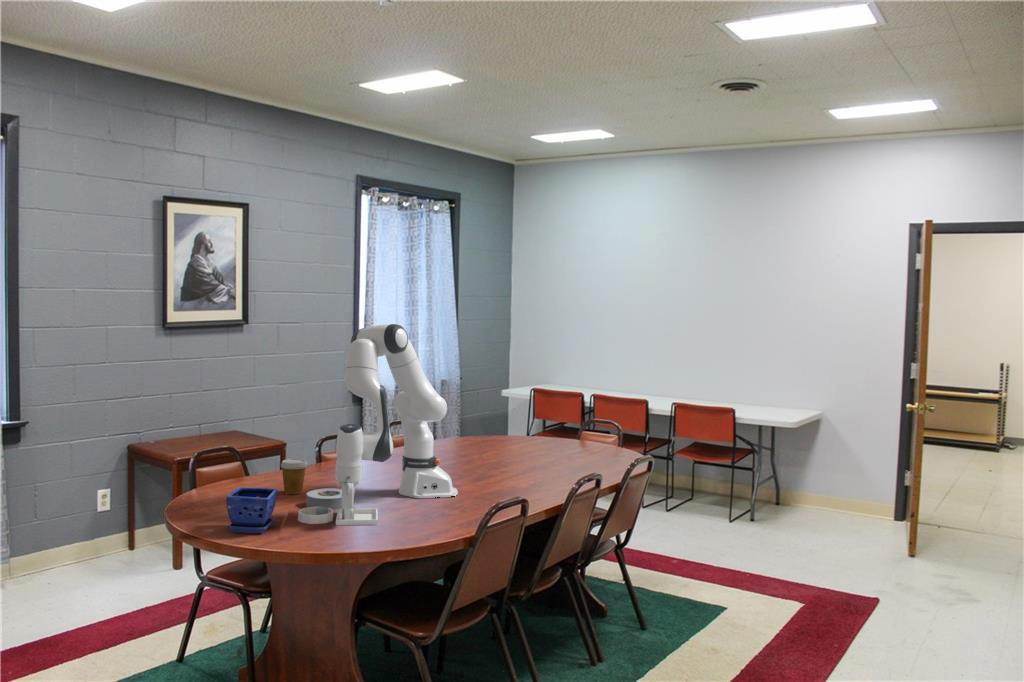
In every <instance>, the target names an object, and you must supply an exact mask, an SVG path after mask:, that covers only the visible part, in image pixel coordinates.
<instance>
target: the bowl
mask: <svg viewBox="0 0 1024 682" xmlns="http://www.w3.org/2000/svg"><path fill="white" fill-rule="evenodd" d="M316 508H318V507H307V506H306V507H303V508H300V509H299V510H298V513H297V521H298V522H300V523H302V524H308V525H320V524H327V523H330V522H333V520H334V510H333V509H331V508H328V513H327V514H322V515H316Z"/></svg>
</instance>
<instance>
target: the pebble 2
mask: <svg viewBox="0 0 1024 682" xmlns="http://www.w3.org/2000/svg"><path fill="white" fill-rule="evenodd" d="M354 509H356V508H355V507H353V508H352V509H351V511H350V519H349V520H354ZM342 520H345V519H344V509H342Z"/></svg>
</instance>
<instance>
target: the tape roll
mask: <svg viewBox="0 0 1024 682" xmlns="http://www.w3.org/2000/svg"><path fill="white" fill-rule="evenodd" d="M341 500H342V488H338V487H337V488H336V487H327V488H319V489H318V488H317V489H313V490H310V491H307V492H306V496H305V503H306V504H305V506H306V508H307V507H327V508H331V509H333V511H334V510H335V511H336V510H338V509H342V507H341Z"/></svg>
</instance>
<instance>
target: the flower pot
mask: <svg viewBox="0 0 1024 682" xmlns="http://www.w3.org/2000/svg"><path fill="white" fill-rule="evenodd" d="M277 496H278V489H277V488H271V487H247V486H246V487H244V486H239V487H237V488H235V489H234V490H232V491H231V492H229V494H228V495H226V498H225V499H226V510H227V516H228V518H229V520H230V523H231V524H229V526H228V529H229V530H230V531H231V532H232V533H238V534H239V533H241V534H243V533H244V534H259V533H261V534H263V533H264V532H265V531H267V530H268V528H270V527H271V526H272V525H273V523H274V521H275V518H271V516H272V514H273V512H274V509H275V507H276V503H277V498H278V497H277Z"/></svg>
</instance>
